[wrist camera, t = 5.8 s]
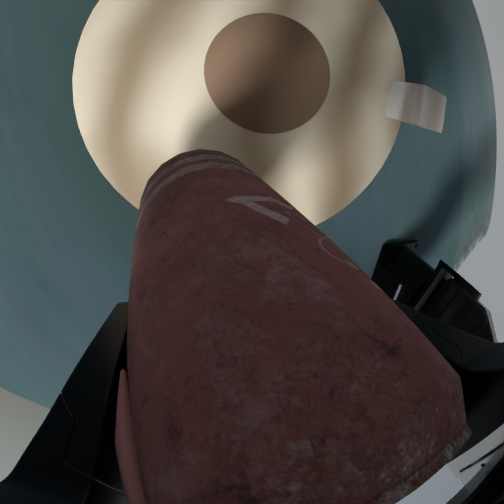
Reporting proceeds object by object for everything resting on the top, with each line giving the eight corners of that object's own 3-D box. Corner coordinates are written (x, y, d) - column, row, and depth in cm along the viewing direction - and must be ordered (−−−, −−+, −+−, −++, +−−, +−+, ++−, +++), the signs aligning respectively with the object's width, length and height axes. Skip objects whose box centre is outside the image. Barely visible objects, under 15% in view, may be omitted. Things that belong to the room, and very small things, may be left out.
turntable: (404, -3, 13) (446, -8, 9) (375, 223, 24) (411, 249, 20) (105, -60, 6) (96, -95, 1) (95, 247, 17) (82, 291, 13)
